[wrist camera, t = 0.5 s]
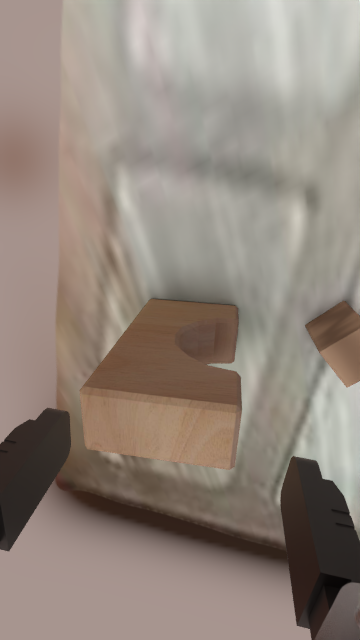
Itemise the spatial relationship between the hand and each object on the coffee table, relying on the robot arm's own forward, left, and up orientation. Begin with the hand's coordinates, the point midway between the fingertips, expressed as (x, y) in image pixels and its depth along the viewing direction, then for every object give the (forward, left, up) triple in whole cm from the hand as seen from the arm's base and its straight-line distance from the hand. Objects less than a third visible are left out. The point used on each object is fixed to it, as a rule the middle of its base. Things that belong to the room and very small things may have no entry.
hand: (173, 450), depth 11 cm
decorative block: (+6, +3, -29) cm, 29 cm away
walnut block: (-7, +14, -28) cm, 32 cm away
